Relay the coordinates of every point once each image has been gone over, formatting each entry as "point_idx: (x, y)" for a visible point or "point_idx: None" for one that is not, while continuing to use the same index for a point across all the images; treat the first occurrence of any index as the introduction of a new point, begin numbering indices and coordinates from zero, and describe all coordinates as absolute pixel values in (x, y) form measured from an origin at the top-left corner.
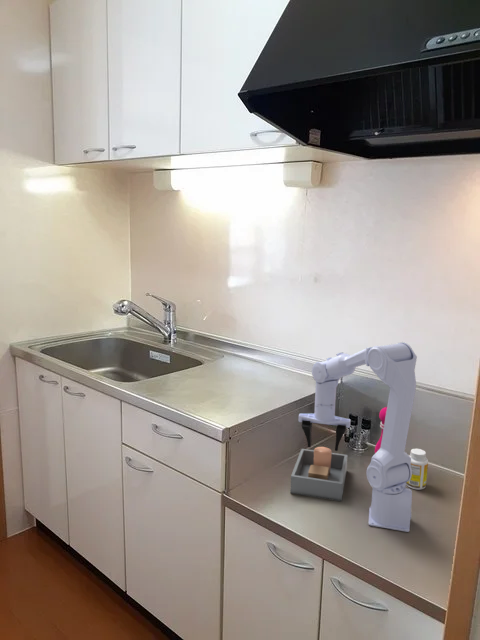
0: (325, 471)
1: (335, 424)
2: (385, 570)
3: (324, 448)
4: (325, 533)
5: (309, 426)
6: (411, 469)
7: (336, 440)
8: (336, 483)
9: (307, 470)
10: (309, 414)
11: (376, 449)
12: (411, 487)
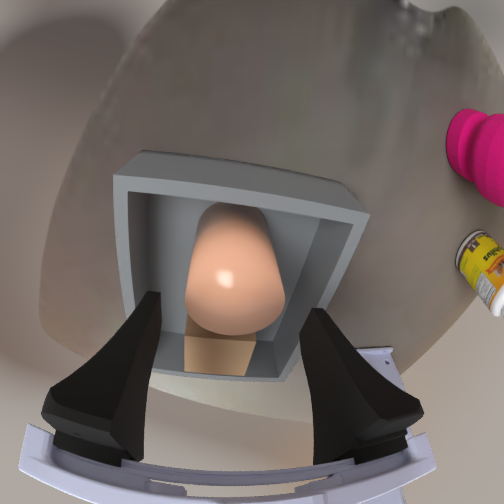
0: (240, 362)
1: (330, 470)
2: (299, 417)
3: (246, 283)
4: (233, 399)
5: (137, 457)
6: (481, 298)
7: (313, 395)
8: (268, 380)
9: (173, 221)
10: (92, 497)
11: (488, 170)
12: (457, 268)
